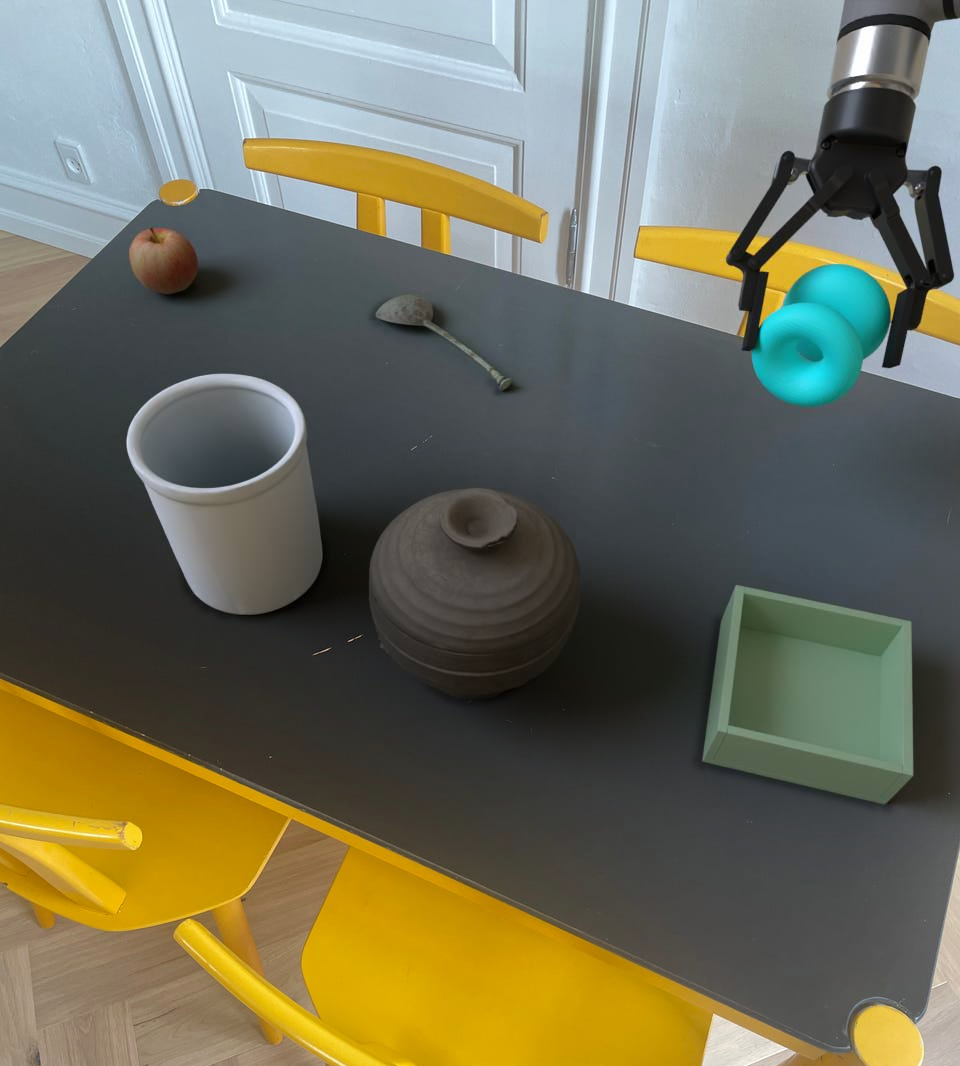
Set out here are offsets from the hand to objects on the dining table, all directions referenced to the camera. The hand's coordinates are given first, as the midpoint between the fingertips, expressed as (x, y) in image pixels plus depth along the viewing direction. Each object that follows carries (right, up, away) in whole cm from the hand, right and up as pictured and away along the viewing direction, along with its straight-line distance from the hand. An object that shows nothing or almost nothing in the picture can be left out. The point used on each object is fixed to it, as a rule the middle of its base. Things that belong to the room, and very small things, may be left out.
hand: (818, 358), depth 81 cm
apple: (-71, +19, +33) cm, 80 cm away
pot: (-32, -27, +2) cm, 42 cm away
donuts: (0, -1, +5) cm, 5 cm away
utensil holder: (-54, -18, +8) cm, 57 cm away
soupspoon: (-36, +10, +27) cm, 46 cm away
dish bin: (-2, -32, -1) cm, 32 cm away
